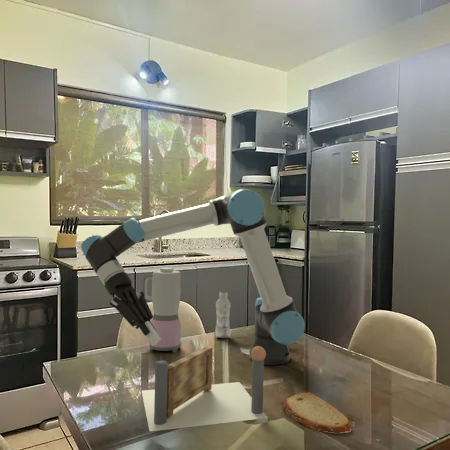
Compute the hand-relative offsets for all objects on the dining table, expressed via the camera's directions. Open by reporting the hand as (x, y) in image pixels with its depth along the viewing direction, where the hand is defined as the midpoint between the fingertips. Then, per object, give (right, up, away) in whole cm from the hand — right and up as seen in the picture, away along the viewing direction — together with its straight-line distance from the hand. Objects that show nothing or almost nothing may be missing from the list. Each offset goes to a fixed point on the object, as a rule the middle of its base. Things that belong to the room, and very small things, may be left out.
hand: (156, 342), depth 119 cm
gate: (+9, -15, -5) cm, 18 cm away
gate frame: (+13, -17, -5) cm, 21 cm away
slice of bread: (+44, -18, -7) cm, 48 cm away
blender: (-6, -16, +46) cm, 49 cm away
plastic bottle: (+18, -16, +63) cm, 68 cm away
